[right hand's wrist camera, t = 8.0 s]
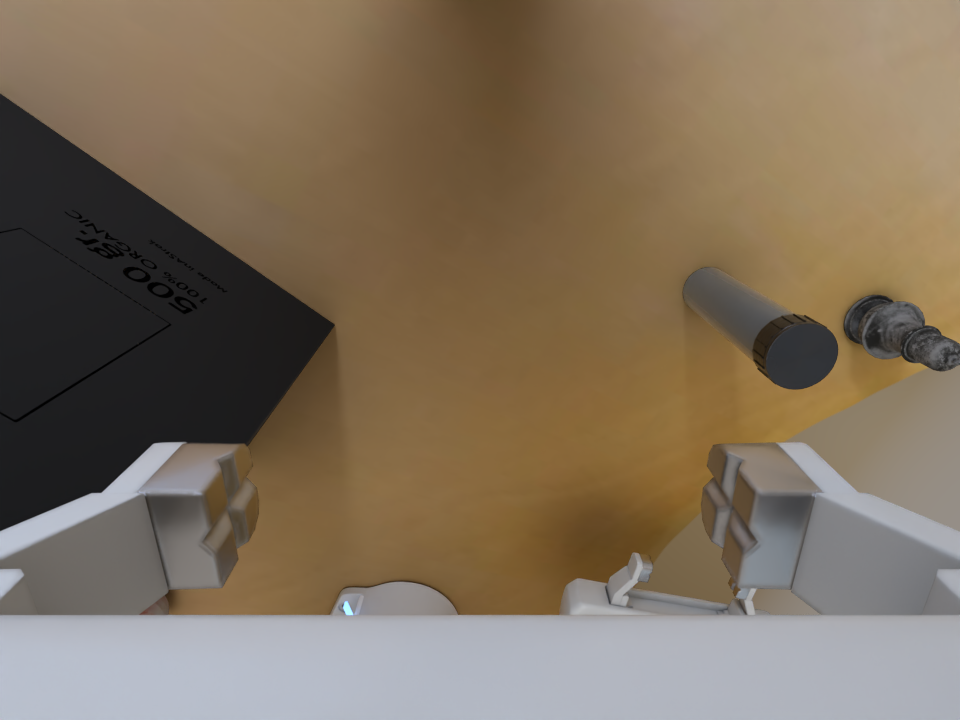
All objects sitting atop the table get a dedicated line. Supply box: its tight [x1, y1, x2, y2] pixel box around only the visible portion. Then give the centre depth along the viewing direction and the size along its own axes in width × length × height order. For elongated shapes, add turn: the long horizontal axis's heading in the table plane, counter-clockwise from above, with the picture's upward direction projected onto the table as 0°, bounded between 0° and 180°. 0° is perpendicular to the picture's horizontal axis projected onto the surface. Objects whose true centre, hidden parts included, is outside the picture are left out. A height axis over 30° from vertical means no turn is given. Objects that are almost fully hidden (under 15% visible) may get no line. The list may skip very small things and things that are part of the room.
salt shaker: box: [844, 295, 960, 371], centre depth 54 cm, size 6×6×12 cm
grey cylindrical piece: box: [683, 267, 798, 362], centre depth 50 cm, size 5×5×18 cm
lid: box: [752, 313, 838, 389], centre depth 42 cm, size 5×5×2 cm
